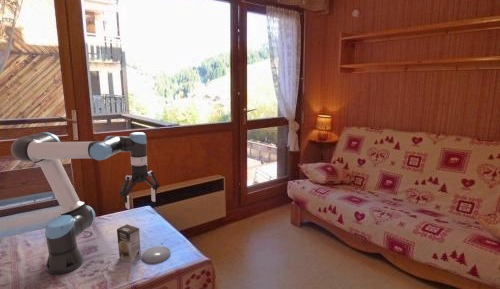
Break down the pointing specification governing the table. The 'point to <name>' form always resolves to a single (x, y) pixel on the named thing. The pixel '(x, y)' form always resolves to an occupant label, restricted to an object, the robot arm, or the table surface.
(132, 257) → the coffee box
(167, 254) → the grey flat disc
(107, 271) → the table surface
